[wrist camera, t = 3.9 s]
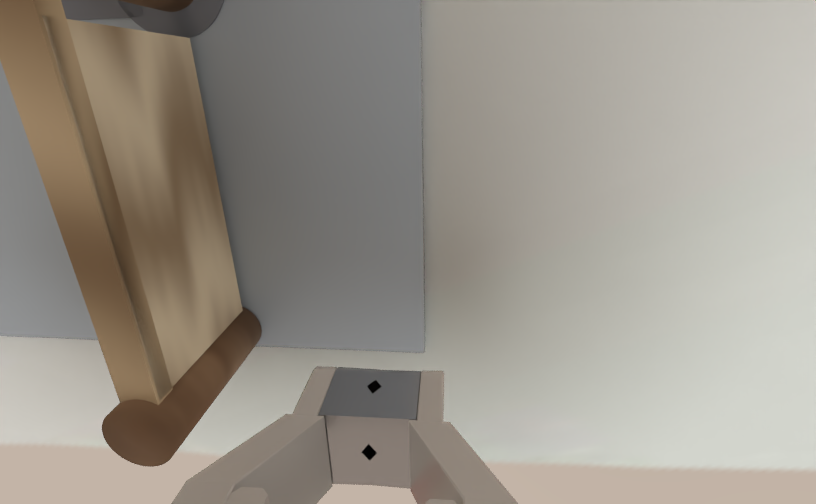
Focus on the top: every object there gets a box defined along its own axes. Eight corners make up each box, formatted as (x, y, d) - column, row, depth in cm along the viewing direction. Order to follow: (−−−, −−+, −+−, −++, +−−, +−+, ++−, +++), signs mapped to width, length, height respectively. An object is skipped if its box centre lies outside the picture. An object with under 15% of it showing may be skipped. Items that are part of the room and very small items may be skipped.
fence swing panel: (142, 23, 14) (-70, -14, 8) (206, 21, 14) (32, -20, 8) (217, 347, 19) (114, 463, 13) (265, 349, 18) (181, 468, 13)
